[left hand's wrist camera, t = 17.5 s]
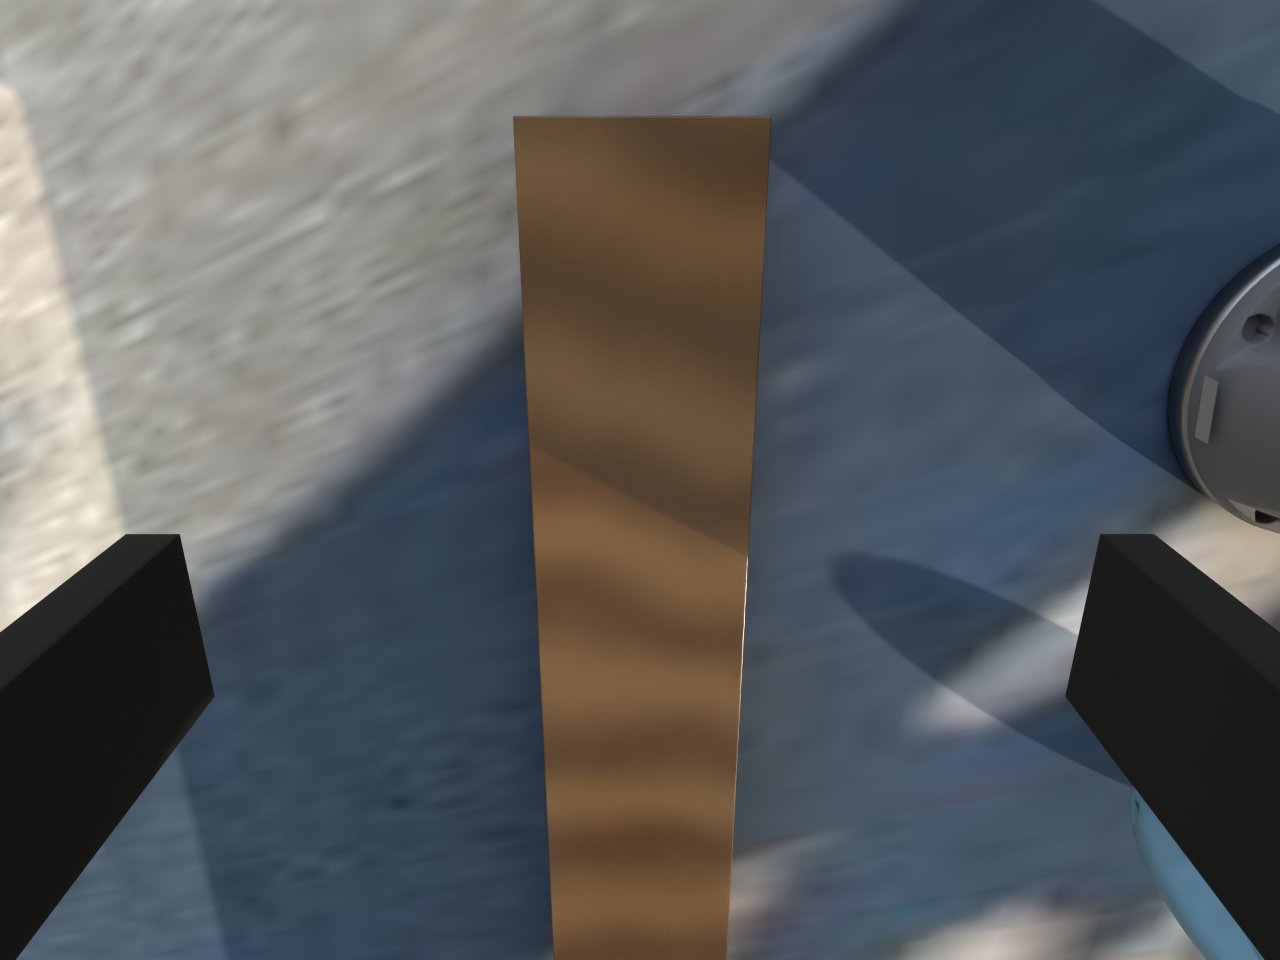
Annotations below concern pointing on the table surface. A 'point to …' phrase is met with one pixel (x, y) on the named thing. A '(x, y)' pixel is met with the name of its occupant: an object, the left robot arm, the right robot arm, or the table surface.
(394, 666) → the table surface
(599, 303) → the wide beam
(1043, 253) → the table surface
